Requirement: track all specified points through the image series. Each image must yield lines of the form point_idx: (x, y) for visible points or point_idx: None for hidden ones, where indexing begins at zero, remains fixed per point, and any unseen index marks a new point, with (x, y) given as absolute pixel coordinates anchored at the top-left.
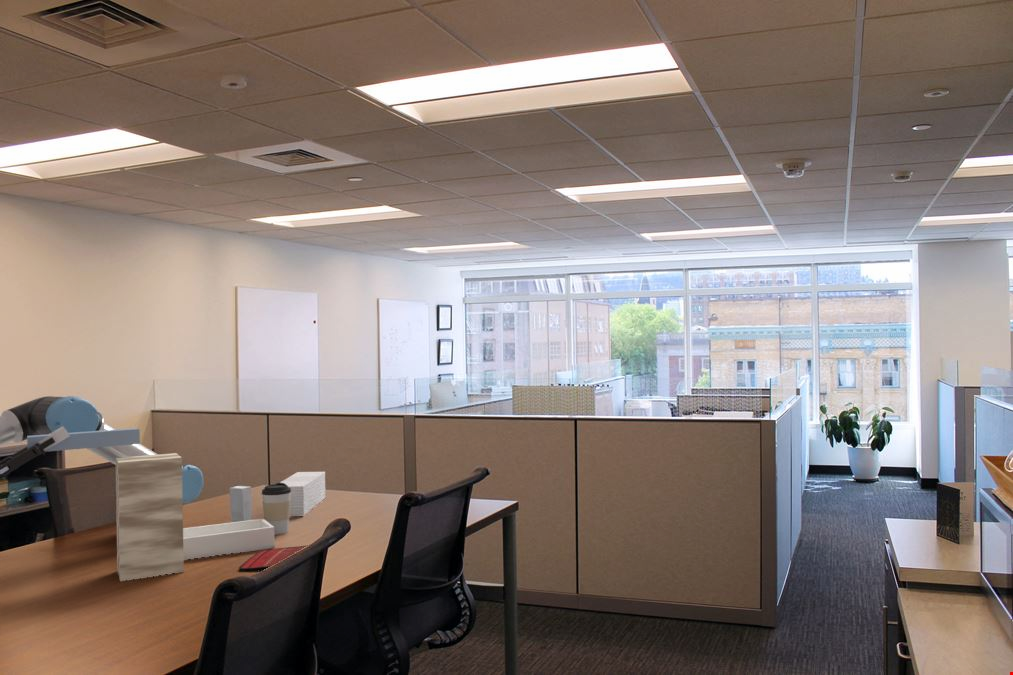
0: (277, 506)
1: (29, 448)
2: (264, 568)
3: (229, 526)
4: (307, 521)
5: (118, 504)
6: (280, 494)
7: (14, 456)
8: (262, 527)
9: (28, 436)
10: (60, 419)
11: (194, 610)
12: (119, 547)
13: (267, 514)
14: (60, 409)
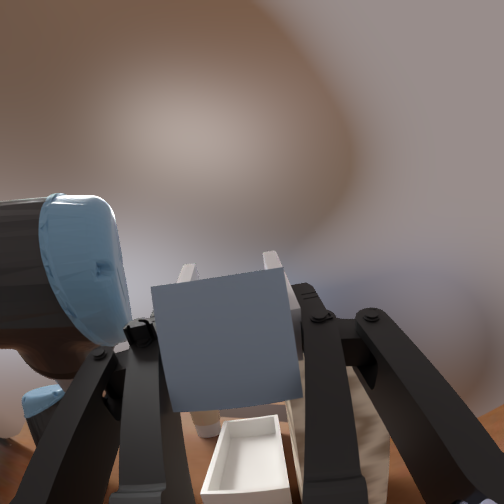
0: None
1: (340, 345)
2: None
3: (223, 440)
4: (187, 418)
5: (372, 427)
6: None
7: (310, 464)
8: (236, 427)
9: (211, 279)
10: (111, 252)
11: (495, 411)
12: (379, 487)
13: (210, 418)
14: (104, 215)
